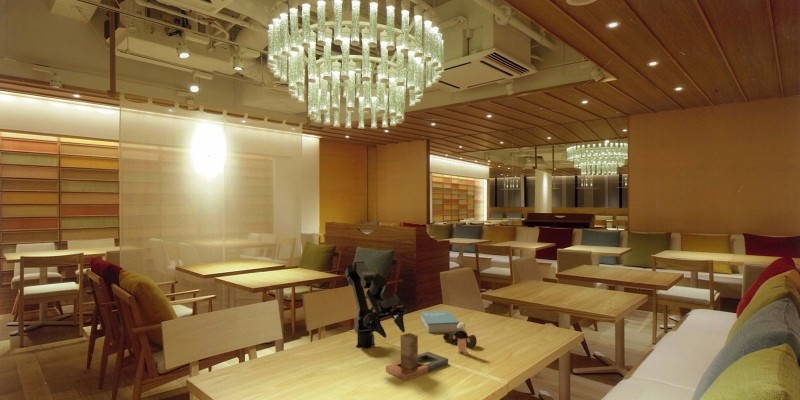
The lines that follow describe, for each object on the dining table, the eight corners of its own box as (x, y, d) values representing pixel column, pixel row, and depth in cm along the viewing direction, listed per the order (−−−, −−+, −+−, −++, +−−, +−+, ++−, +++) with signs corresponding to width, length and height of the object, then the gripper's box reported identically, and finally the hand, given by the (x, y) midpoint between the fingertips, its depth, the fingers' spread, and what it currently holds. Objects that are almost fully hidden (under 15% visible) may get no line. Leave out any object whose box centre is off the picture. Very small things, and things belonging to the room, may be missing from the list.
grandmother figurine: (472, 352, 170) (471, 322, 170) (469, 355, 166) (469, 324, 166) (454, 350, 173) (453, 320, 173) (451, 353, 169) (450, 322, 169)
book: (420, 321, 219) (420, 311, 219) (450, 319, 221) (449, 310, 221) (428, 334, 197) (428, 323, 197) (461, 332, 199) (460, 321, 199)
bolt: (446, 344, 186) (475, 350, 176) (440, 341, 183) (469, 347, 173) (449, 331, 188) (477, 336, 179) (443, 328, 185) (472, 333, 175)
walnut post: (409, 374, 149) (408, 338, 149) (401, 370, 152) (400, 335, 153) (418, 370, 152) (417, 335, 152) (410, 367, 155) (409, 332, 155)
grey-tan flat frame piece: (405, 380, 143) (405, 375, 143) (385, 371, 152) (385, 366, 152) (448, 364, 158) (448, 358, 158) (428, 356, 166) (428, 351, 166)
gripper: (366, 292, 157) (385, 328, 148) (403, 285, 169) (422, 317, 160) (355, 309, 162) (372, 344, 154) (391, 301, 175) (409, 333, 166)
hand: (395, 334), depth 158 cm, fingers open, 9 cm apart
